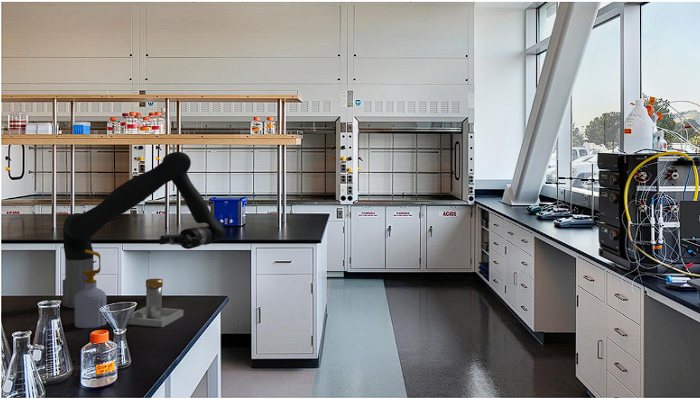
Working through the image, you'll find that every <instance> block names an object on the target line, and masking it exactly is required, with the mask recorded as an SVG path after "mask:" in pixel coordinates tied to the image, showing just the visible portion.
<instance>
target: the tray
mask: <svg viewBox="0 0 700 399" xmlns="http://www.w3.org/2000/svg"><path fill="white" fill-rule="evenodd" d="M137 312H140V313H142V315H143V318H135V317H133V315H134V314H135V313H137ZM132 313H133V314H132V316H131V318H130V320H129V323H128V324H127V325H133V326H142V327H143V326H144V327H155V328H164V327H165V326H167V325H169V324H171V323H173V322H174V321H176V320H178V319H180V318H183V317H184V309H178V308H177V309H176V308H167V307H162V317H161V320H158V319H146V306H143V307H142V308H139V309H138V310H135V311H133V312H132Z"/></svg>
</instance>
